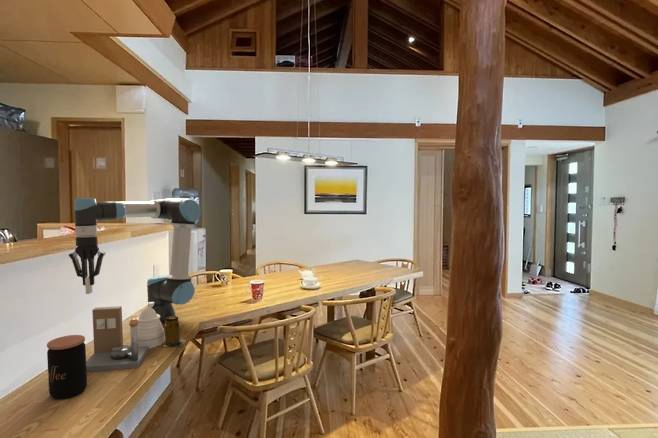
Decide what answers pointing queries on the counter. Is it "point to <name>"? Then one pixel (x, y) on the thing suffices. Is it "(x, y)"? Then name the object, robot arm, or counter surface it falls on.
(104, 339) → the stand
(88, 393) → the counter surface
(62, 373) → the coffee jar
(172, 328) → the condiment
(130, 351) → the ball top joystick
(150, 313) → the honey pot
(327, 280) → the counter surface
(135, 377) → the counter surface
